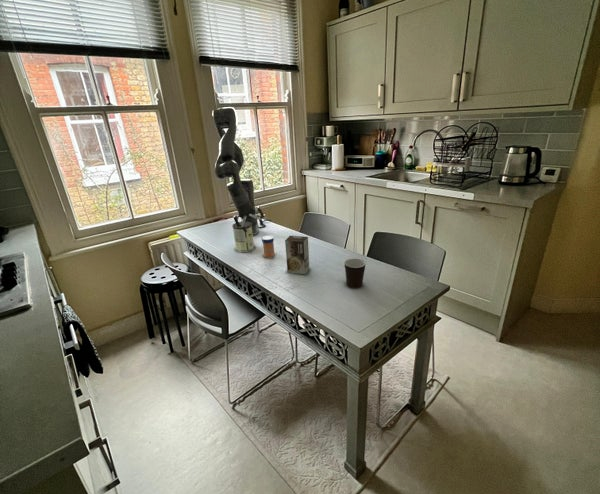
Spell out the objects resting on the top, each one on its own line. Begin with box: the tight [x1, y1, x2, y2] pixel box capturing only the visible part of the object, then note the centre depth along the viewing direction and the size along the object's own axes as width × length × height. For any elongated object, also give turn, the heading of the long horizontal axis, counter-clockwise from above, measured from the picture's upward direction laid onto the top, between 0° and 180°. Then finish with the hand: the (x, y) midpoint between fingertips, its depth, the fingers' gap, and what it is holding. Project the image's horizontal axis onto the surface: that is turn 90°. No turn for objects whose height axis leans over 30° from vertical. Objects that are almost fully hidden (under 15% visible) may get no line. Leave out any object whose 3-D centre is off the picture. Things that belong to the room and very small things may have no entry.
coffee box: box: [284, 235, 310, 275], centre depth 143 cm, size 9×6×16 cm
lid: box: [261, 235, 275, 244], centre depth 161 cm, size 6×6×2 cm
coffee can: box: [232, 221, 255, 253], centre depth 172 cm, size 10×10×14 cm
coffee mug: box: [343, 258, 366, 289], centre depth 132 cm, size 12×9×10 cm
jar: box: [262, 241, 275, 259], centre depth 162 cm, size 5×5×10 cm
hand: (254, 228), depth 160 cm, fingers open, 8 cm apart
